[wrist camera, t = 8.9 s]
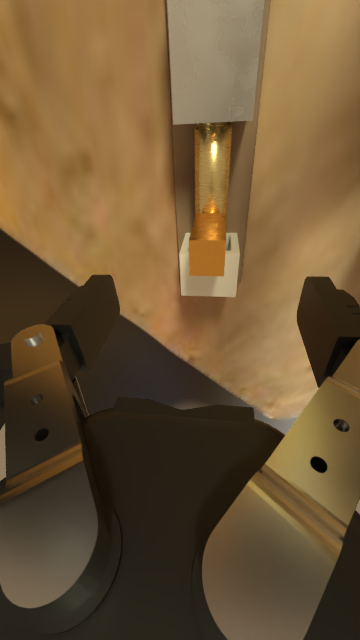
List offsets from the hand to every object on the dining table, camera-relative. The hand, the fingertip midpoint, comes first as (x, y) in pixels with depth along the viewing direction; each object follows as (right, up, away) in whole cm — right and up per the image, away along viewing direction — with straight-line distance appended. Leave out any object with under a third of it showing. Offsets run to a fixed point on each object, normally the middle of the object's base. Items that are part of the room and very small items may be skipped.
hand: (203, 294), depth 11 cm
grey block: (+2, +22, +10) cm, 24 cm away
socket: (+3, +7, +21) cm, 23 cm away
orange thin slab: (+2, +12, +16) cm, 20 cm away
